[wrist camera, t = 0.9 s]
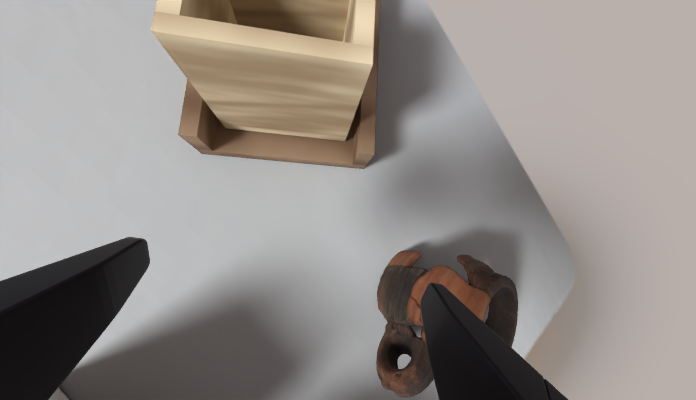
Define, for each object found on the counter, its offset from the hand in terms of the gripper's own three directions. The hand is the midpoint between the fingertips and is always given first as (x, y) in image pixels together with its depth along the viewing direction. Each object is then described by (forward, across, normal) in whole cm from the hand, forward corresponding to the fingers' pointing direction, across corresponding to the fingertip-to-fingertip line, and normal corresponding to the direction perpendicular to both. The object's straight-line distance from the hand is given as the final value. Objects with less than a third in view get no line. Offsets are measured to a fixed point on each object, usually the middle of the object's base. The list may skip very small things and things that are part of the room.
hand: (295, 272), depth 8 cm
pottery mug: (+9, -11, +11) cm, 18 cm away
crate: (+18, +4, -4) cm, 19 cm away
